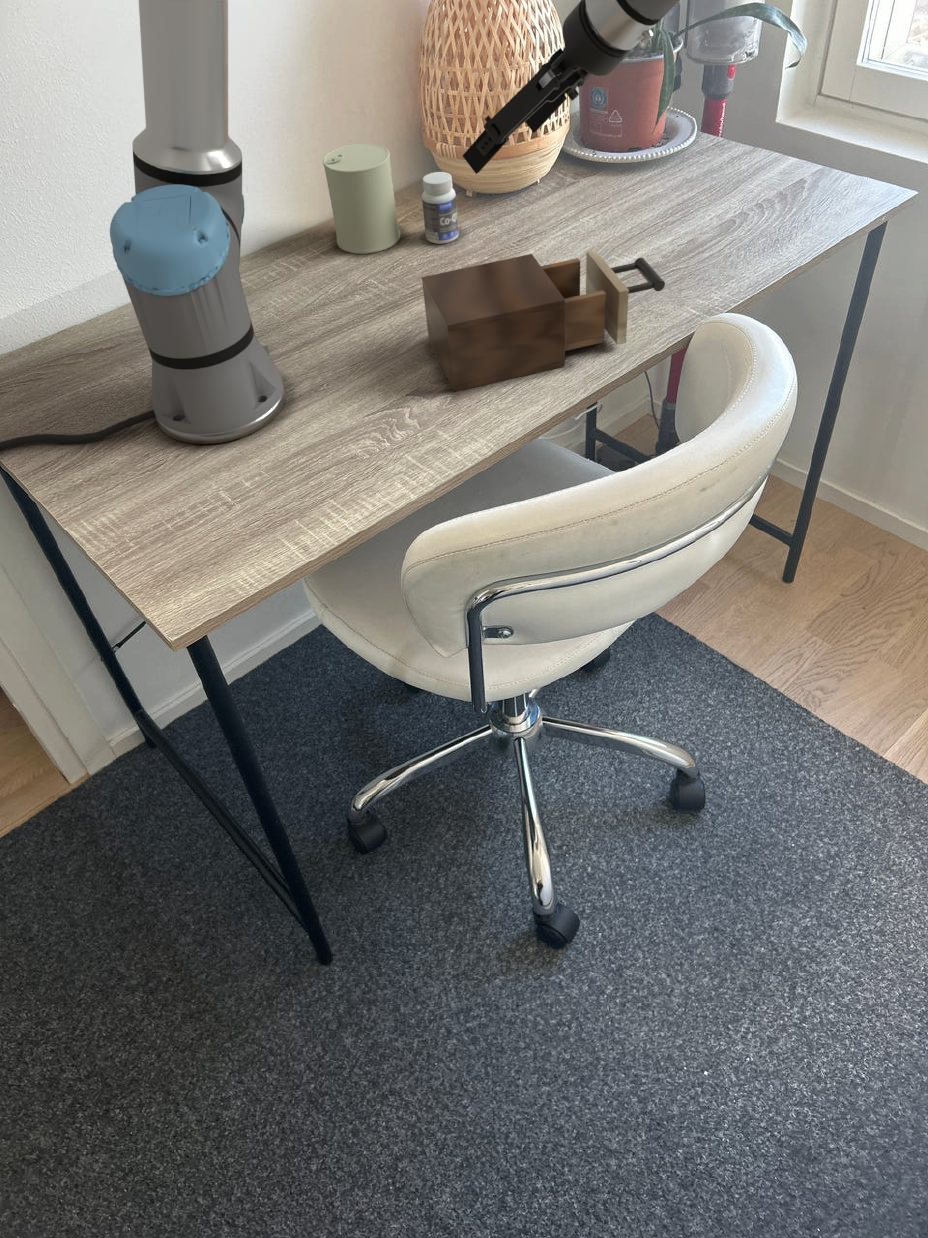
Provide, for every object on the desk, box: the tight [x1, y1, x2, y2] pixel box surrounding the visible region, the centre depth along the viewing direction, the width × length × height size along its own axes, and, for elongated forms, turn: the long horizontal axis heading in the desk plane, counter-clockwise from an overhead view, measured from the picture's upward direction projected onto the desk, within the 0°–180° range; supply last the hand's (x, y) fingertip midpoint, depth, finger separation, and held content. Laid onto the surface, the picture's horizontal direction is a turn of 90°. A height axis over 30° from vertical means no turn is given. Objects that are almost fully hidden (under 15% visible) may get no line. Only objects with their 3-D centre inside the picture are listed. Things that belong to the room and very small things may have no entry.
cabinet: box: [421, 253, 566, 393], centre depth 115 cm, size 14×12×9 cm
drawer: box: [540, 249, 666, 352], centre depth 116 cm, size 18×10×7 cm, turn 106°
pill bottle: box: [421, 171, 460, 245], centre depth 136 cm, size 5×5×8 cm
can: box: [322, 142, 401, 255], centre depth 136 cm, size 9×9×12 cm
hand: (500, 142), depth 124 cm, fingers open, 13 cm apart
